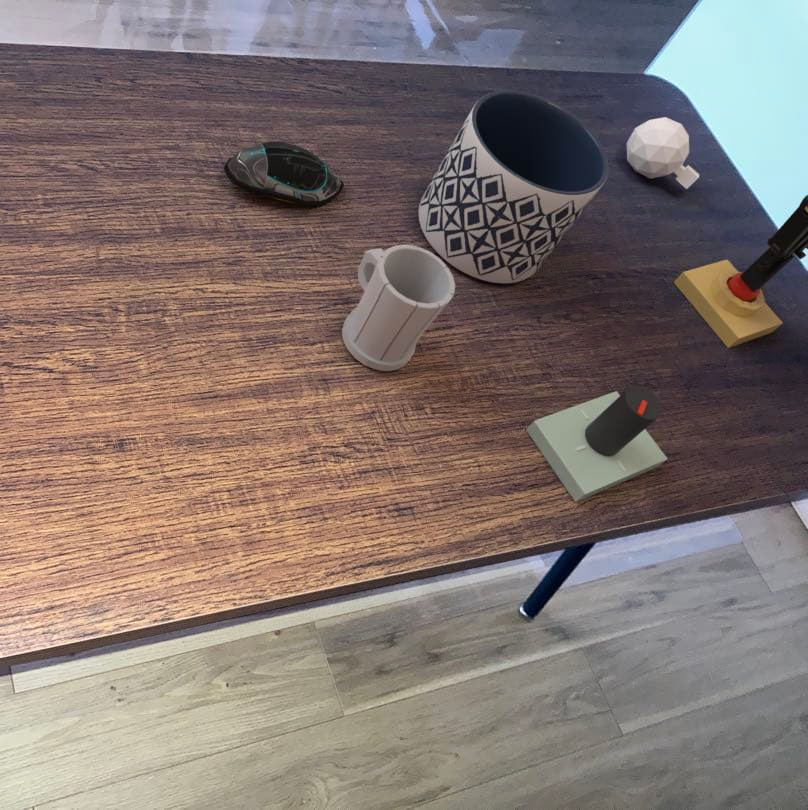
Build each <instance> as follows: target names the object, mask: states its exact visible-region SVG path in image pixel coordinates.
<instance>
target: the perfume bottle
mask: <svg viewBox="0 0 808 810" xmlns="http://www.w3.org/2000/svg"><path fill="white" fill-rule="evenodd" d="M689 154H690V135H689V134H688V131H686V129H685V127H684V126H683V124H682V123H680V122H677V121H676V120H673V119H672V118H669V117H667V116H665V117H658V118H652V119H649V120H647V121H645V122H642V123H641V124H640V125H638V126H636V127H635V128H634V129H633V130H632V133H631V135H630V137H629V138H628V139H627V142H626V160H627V162H628V164H629V165H630V167H631V168H632V169H633V171H634V172H636V173H638V174H640V175H642V176H643V177H645V178H647V179H655V178H660V177H661V178H662V177H666V176H669V175H671V174H673V173H674V174H675V175H676V176H675V181H676V182H678V183H679V184H680V185H681V186H682V187H683V188H685V189H686V190H688V189H689V188H690V187H691V186H692V185H693V184H694V183H695V182H697V180H698V179H699V178H700V173H698V172H697V171H696V170H695V169H694V168H693V167H692V166H690V165H689V164H688V165H686V166H684V165H683V164H684V163H685V161H686V159H687V158H688V156H689Z"/></svg>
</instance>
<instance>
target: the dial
mask: <svg viewBox="0 0 808 810" xmlns="http://www.w3.org/2000/svg"><path fill="white" fill-rule="evenodd" d="M619 395H620V396H619V397H618V398H617V399H616V400H615V401H614V402H613V403H612V404H611V405H610V406H609V407H608V408H607V409H606V410H604V411H603V412H602V413H601V414H600V415H599V416H598V417H597V418H596V419H595V420H594V421H593V422H592V423H591V424H590V425H589V426H588V427H587V428H586V430H585V437H586V440H587V442H588V444H589V445H590V447H591V448H592V449H593V450H595V451H596V452H597V453H599V454H601V455H604V456H613V455H615V454H617V453H618V452H619V451H620V450H621V449H622V448H624V447H625V446H626V445H627V444H628V443H629V442H631V441H632V440H633V439H634V438H635V437H636V436H638V435H639V434H640V433H641V432H642V431H643V430H644V429H646V430H647V428H648V427H649V426H650V425H652V424H653V423H654V422H655V421H656V420H658V419H659V418H660V417H661V415H662V412H663V408H662V404H661V401H660V400H659V398H658V397H657V395H655V394H654V393H653V391H651V390H649V389H648V388H646V387H645V386H641V385H632V386H629V387H628V388H626V390H624V391H623V392H622V393H621V394H619Z"/></svg>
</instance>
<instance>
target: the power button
mask: <svg viewBox="0 0 808 810" xmlns="http://www.w3.org/2000/svg"><path fill="white" fill-rule="evenodd" d="M743 273H744V272H741V273H737V274H736V275H735V276H734V277H732V278H731V279H730V280H729V281H728V282H727V285H728V288H729V290H730V291H731V292H732V294H733V295H734V296H735V297H737V298H739V299H740V300H742V301H745V302H751V301H752V300H753V299H754V298H755V297H756V296H757V295H758V294H759V293H760V292H761V290H762V289H761V288H762V287H761V288H760V289H758V290H755V291H752V290H751V289H750V287H749V286H748V285H747V284H746V283H745V282H744V281H743V279H742V278H741V277H740V276H741V275H742V274H743Z"/></svg>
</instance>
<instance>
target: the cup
mask: <svg viewBox="0 0 808 810" xmlns="http://www.w3.org/2000/svg"><path fill="white" fill-rule="evenodd" d="M357 277H358V284H359V285H360V287H361V288H362V290H363V295H362V296H361V299H360V300H359V303H358V304H357V306H356V308H354V309H352V311H351V312H350V313H349V314H348V315H347V316H346V318H345V320H344V321H343V326H342V328H341V335H342V341H343V343H344V346H345V347H346V349H347V351H348V352H349V353H350V355H352V357H353V358H354V359H355V360H356V361H358V362H359V363H361V364H362V365H364V366H365V367H368V368H370V369H373V370H376V371H381V372H382V371H383V372H391V371H396V370H397V371H398V370H399V369H401V368H403V367H405V366H406V365H407V364H408V362H409V361H410V360H411V358H412V357H413V355H414V354H415V352H416V348H417V343H418V342H419V340H420V339H421V337H422V336H423V334H424V333H425V332H426V330H427V329H428V328H429V327H430V326H431V325H432V323H433V322H434V321H435V320H436V318H437V317H438V316H439V315H440V314H441V312H443V310H444V309H445V308H446V307H447V305H448V304H449V303H450V302H451V301H452V299H453V297H454V296H455V291H456V283H455V279H454V275H453V273H452V271H451V270H450V269H449V267H448V265H446V263H445V262H444V261H443V260H442V259H441V258H440V257H438V256H437V255H435V254H434V253H432V252H431V251H430V250H428V249H425V248H422V247H420V246H416V245H411V244H400V245H393V246H391V247H389V248H387V249H385V250H383V249H382V248H381V247H379V248H372V249H369V250H366V251H365V252H364V254H363V257H362V259H361V262H360V264H359V267H358V268H357Z"/></svg>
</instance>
